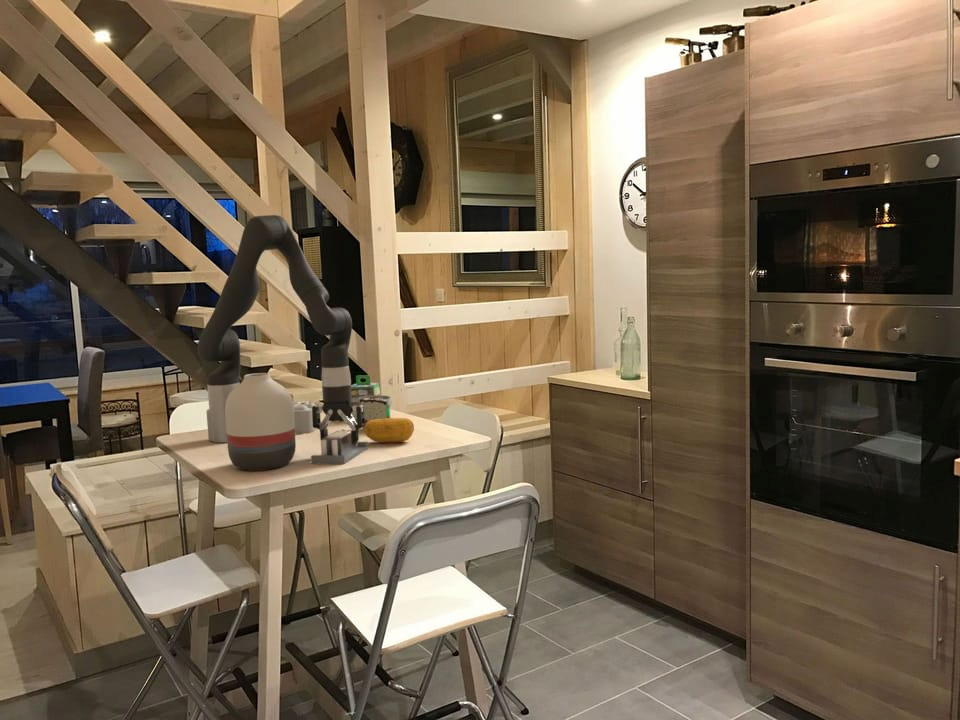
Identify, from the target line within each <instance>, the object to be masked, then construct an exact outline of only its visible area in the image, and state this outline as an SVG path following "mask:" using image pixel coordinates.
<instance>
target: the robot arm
mask: <svg viewBox="0 0 960 720" xmlns="http://www.w3.org/2000/svg"><path fill="white" fill-rule="evenodd" d="M270 250H271V251H272V250H277V251H278V252H280V253H281V255H282V256H283V257H284V258H285V260H286V263H287V266H288V273H289V281H290V285H291V287H292V289H293V291H294V293H295V294H296V295H297V296H298V298H299V299H300V301H301V302H302V304H303V305H304V306H305V309H306V313H307V315H308V318H309V320H310V323H311V326H312V327H313V329H314V330H315V331H316V332H317V333H318V334H320V335H321V336H326V337H328V336H329V340H328V342H327V344H324V345H323V346H322V347H321V350H320V351H321V352H320V356H321V357H320V358H321V388H322V389H321V391H322V401H323V402H322V403H323V405H319V404H315V406H313V407H312V420H313V428H317V430H319V433H320V434H319V436H320V441H321V440H322V438H324V437H326V436H328V435H329V433H328V432H329V431H328V430H329V429H327V428H328V426H329V425H330V424H331V422H333V423H334V422H340V423H341V422H344V423H345V424H346V425H348V426H349V428H350V429H351V430H350V431H351V442H352V445H355V444H356V443H357V442H359V438H360V437H359V435H360V434H359V430H360V429H363V427H364V426H365V416H364V406H363V405H359V406H353V405H352V396H351V385H352V379H351V372H350V366H349V347H350V342H351V341H350V340H351V336H352V332H353V331H352V330H353V321H352V317H351V314H350V313H349V311H348V310H347V309H345V308H343V307H330V308H329V307H328V305H327V302H328V301H329V299H330V294H329V292H328V290H327V288H326V287H325V286H324V284H323V283H322V282H321V280H320V279H319V278H318V276H317V275H316V274H315V272H314V271H313V268H312V266H311V265H310V264H309V262H308V260H307V258H306V256H305V254H304V252H303V250H302V247H301V246H300V244H299V242H298V240H297V238H296V235H295V234H294V232H293V230H292V228H291V227H290V224H289V223H288V222H287V220H286V219H285V218H284V217H282V216H281V215H277V214H272V215H269V214H267V215H257V216H253V217H251V218H249V219H248V221H247V222H246V224H245V226H244V229H243V231H242V235H241V238H240V243H239V246H238V249H237V252H236V256H235V258H234V261H233V264H232V267H231V269H230V272H229V275H228V277H227V279H226V281H225V283H224V286H223V289H221V293H220V296H219V298H218V300H217V303H216V305H215V308H214V310H213V312H212V313H211V316H210V318H209V320H208V322H207V323H206V324H205V327H204V328H203V329H202V332H201V334H200V335H199V336H200V337H199V339H198V341H197V343H198V344H197V353H198V356H199V358H200V360H202V361H204V362H206V363H208V362H209V363H215V362H220V364H219V366H218V367H217V368H216V369H215V370H214V371H211V372H210V373H208V375H207V377H206V384H207V398H208V409H206V421H207V422H206V423H207V424H206V425H207V435H208V442H212V441H213V442H212V443H227V433H226V420H225V404H226V400H227V397H228V395H229V394H230V393H231V392H232V391H233V390H234V389H235V388H236V387H237V386H238V385H239V384H241V383H240V377H241V376H240V375H241V369H242V368H241V345H240V344H241V343H240V338H239V336H238V334H237V333H236V331H234V330H232V329H231V327H232V326H233V325H234V324H236V323H237V322H238V321H239V320H241V319H242V318H243V317H244V316H245V315H246V314H247V313H248V312H249V311H250V310H251V308H252V307H254V306H253V305H254V303H255V302H256V299H257V297H258V295H259V292H260V287H261V285H260V278H259V275H258V271H257V266H258V263H259V261H260V258H261V256H262V254H263V253H264V252H265V251H270ZM353 410H354V411H355V413H356V414H357V420H355V419H354V417H353V416H352V415H351V413H352V411H353ZM322 413H324V414H325V417H324V418H323V420H322V422H321V414H322Z"/></svg>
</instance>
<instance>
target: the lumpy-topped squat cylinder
mask: <svg viewBox="0 0 960 720" xmlns="http://www.w3.org/2000/svg"><path fill="white" fill-rule="evenodd" d="M315 405H316V403H314V402H309V401H307V400H305V401H304V402H302V403H301V402H300V401H295V402H293V409H294V423H295V433H296V434H295V435H298V434H297V433H306V434H312V433H314V431H315V432H316V431H318V429H317V428H313V420H312V407H313V406H315ZM311 432H312V433H311Z"/></svg>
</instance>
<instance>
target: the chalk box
mask: <svg viewBox="0 0 960 720" xmlns="http://www.w3.org/2000/svg"><path fill="white" fill-rule="evenodd" d="M361 379H365V381H363V382H362V381H361ZM355 381H356V383H353V384H351V396H352V405H353V406H359V404H358V399H359V397H363V396H373V395H381V389H380V382H379V381H378V382H371V377H370V375H369V374H366V375H365V374H364V375H362V374H359V375H356V376H355ZM351 415H352V416H353V417H354V419H355V421H357V414H356V413H355V411H354V410H353V411H352V413H351Z"/></svg>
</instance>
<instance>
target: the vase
mask: <svg viewBox="0 0 960 720" xmlns="http://www.w3.org/2000/svg"><path fill="white" fill-rule="evenodd" d="M271 376H272V375H271V374H270V373H269V372H260V373H259V372H258V373H248V374H245V375H244V376H243V380H242V381H241V383H240V384H239V385H238V386H237V387H236V388H235V389H234V390H233V391H232V392H231V393H230V394H229V395H228V397H227V400H226V404H225V420H226V433H227V442H226V443H227V451H228V452H227V453H228V456H229V460H230V462H231V464H232V465H233V466H235V467H236V468H237V469H239V470H243V471H265V470H266V471H267V470H274V469H277V468H280V467H283V466H285V465H287V464H288V463H290V462H292V460H293V459H294V456H295V453H296V444H297V443H296V434H295V423H294V409H293V405H294V402H293V398H292V395H291V393H290V392H289V391H288V390H287V388H285V386H283V385H282V384H280V383H278V382H277V381H276V380H274V379H273V378H272V377H271Z"/></svg>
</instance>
